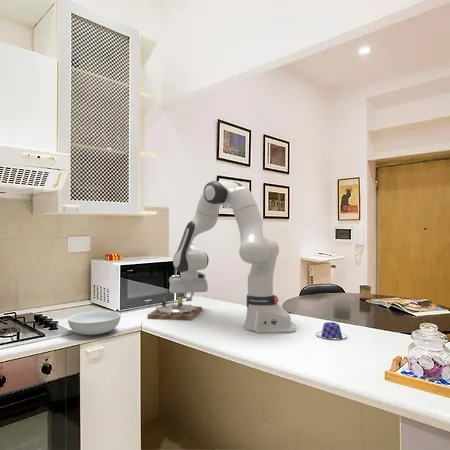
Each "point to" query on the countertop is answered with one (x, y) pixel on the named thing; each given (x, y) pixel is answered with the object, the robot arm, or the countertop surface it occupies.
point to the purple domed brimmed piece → (331, 331)
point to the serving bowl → (94, 322)
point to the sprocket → (176, 308)
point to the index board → (174, 316)
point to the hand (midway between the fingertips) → (188, 300)
